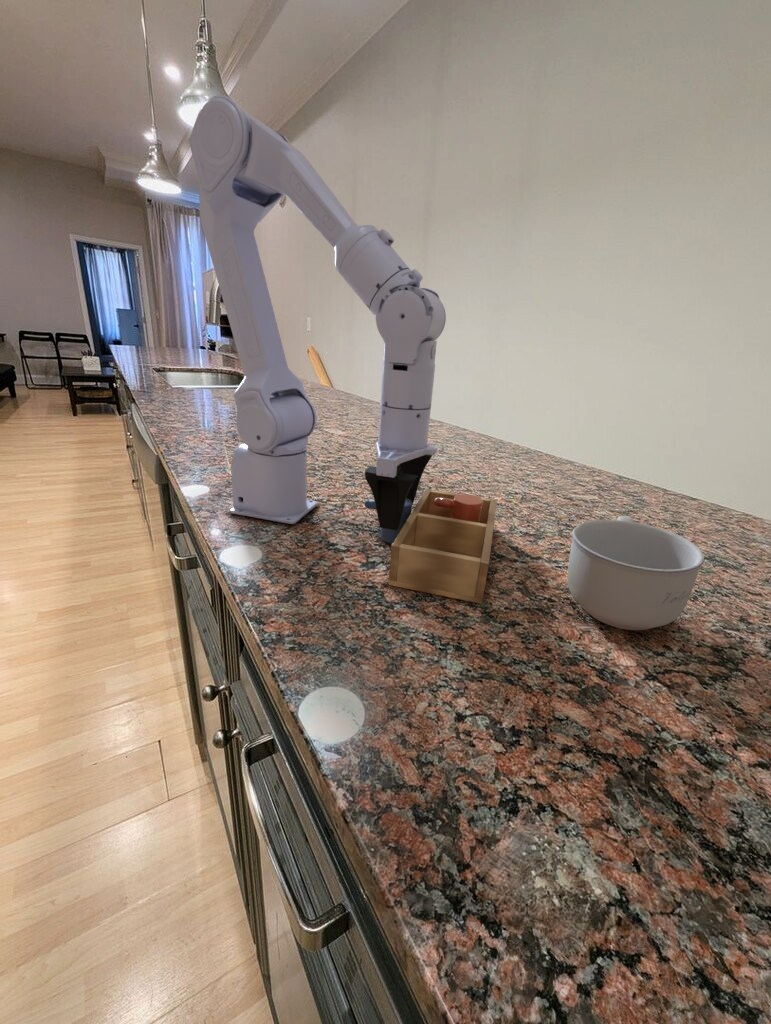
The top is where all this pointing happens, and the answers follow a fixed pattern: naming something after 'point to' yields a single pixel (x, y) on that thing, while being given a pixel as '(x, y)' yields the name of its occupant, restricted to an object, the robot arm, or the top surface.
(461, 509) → the terracotta scoop
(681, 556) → the teacup
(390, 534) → the blue scoop
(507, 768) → the top surface
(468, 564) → the caddy
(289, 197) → the robot arm
